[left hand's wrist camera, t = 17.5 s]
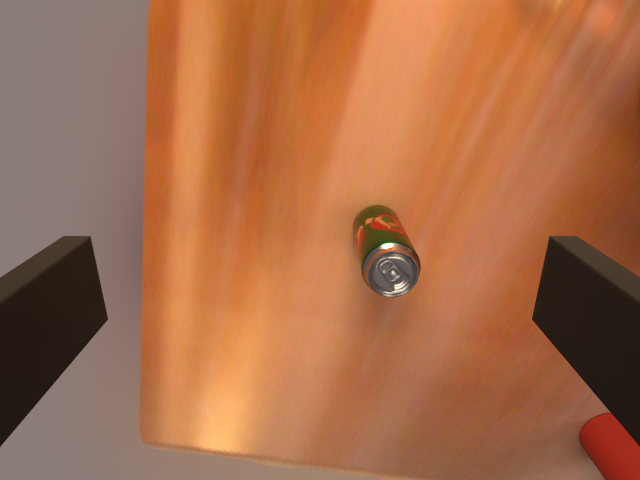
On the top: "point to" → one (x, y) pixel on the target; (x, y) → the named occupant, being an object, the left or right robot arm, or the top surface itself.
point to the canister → (611, 448)
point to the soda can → (385, 252)
